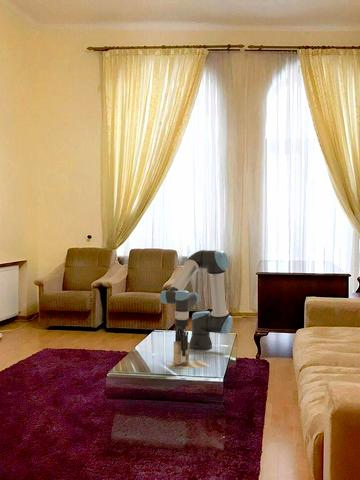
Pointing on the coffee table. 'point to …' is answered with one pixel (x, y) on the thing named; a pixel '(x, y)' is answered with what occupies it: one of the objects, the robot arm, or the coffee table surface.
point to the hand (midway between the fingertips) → (181, 360)
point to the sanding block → (178, 354)
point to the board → (191, 364)
